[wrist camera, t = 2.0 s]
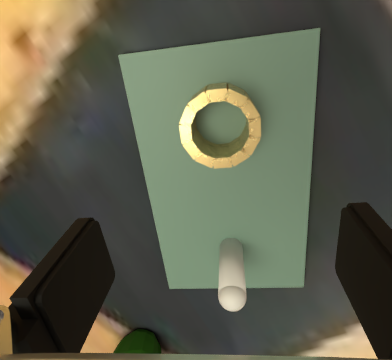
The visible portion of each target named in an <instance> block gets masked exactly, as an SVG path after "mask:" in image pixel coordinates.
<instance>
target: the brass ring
mask: <svg viewBox="0 0 392 360" xmlns="http://www.w3.org/2000/svg"><path fill="white" fill-rule="evenodd" d="M221 101H226V102H229V103H231V104H233V105H235V106H237V107H239V108H240V109H241V110H242V112H243V113H244V115H245V116H246V126H245V127H244V129H243V131H242V133H241V135H240V136H239V137H238V138H236V139H235V140H233V141H232V142H230V143H226V144H214V143H212V142H210V141H208V140H205V139H204V138H203V137H202V135H201V134H200V133H199V131H198V130H197V128H196V120H195V115H196V112H197V111H199V110H200V109H201V108H203V107H204V106H206V105H207V104H208V103H211V102H221ZM179 129H180V136H181V143H182V144H183V145H182V146H183V147H184V148H185V149H186V151H187V152H188V153H189V155H190V156H191V157H192V158H193V160H194V159H196V160H195V161H196V162H199V163H201V164H203V165H205V166H208V167H210V168H212V167H213V166H214V169H216V168H230V167H232V165H233V166H236V165H238V164H239V163H241V162H242V161H244V160H246V159H247V158H249V157H250V155H252V153H253V151H254V150H255V148H256V146H257V144H258V143H259V141H260V137H261V117H260V114H259V112H258V110H257V108H256V106H255V105H254V103H253V101H252V100H251V98H250V97H249V95H248V94H247V92H245V90H243V89H241V88H239V87H237V86H235V85H233V84H230V83H228V84H227V82H224V83H215V84H208V86H207V85H206V86H205V87H204V88H202V89H201V90H200V91H198V92H197V93H196V94H194V95H193V96H192V97H191V99H190V101H189V102H188V104H187V105H186V108H185V110H184V113H183V115H182V118H181V120H180V123H179Z"/></svg>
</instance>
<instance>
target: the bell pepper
mask: <svg viewBox="0 0 392 360" xmlns="http://www.w3.org/2000/svg"><path fill="white" fill-rule="evenodd" d="M113 353H131V354H161V347H160V344H159V343H158V341H157V339H156V337H155V335H154V333H152V332H150V331H148V330H143V329H137V330H135V331H133V332H132V333H131V334H128V335H127V336H125V337H124V338H123V339H122V340H121V341H120V343H119V344H118V346H117V347H116V349H115V351H114V352H113Z"/></svg>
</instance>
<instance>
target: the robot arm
mask: <svg viewBox="0 0 392 360" xmlns="http://www.w3.org/2000/svg"><path fill="white" fill-rule="evenodd" d="M335 269H336V273H337V276H338V278H339V280H340V282H341V284H342V286H343V288H344V290H345V292H346V294H347V296H348V298H349V300H350V303H351V305H352V307H353V309H354V311H355V313H356V315H357V317H358V319H359V321H360V323H361V325H362V327H363V329H364V331H365V333H366V335H367V337H368V339H369V341H370V344H371V346H372V348H373V350H374V352H375V354H376V356H377V358H378V359H365V358H339V357H301V356H255V355H201V354H131V353H80V351H81V349H82V347H83V344H84V342H85V340H86V338H87V336H88V334H89V332H90V330H91V328H92V325H93V323H94V321H95V319H96V317H97V315H98V313H99V311H100V309H101V306H102V304H103V302H104V300H105V298H106V296H107V294H108V292H109V289H110V287H111V285H112V283H113V281H114V278H115V271H114V267H113V264H112V261H111V258H110V255H109V252H108V249H107V246H106V243H105V240H104V237H103V234H102V231H101V228H100V225H99V222H98V221H95V220H94V219H93V218H79V219H77V220H76V221H75V222H74V223H73V224H72V225H71V227H70V228H69V229H68V230H67V231H66V232H65V234H64V235H63V236H62V237H61V238H60V239H59V241H58V242H57V243H56V244H55V245H54V247H53V248H52V249H51V250H50V251H49V252H48V254H47V255H46V256H45V257H44V258H43V259H42V261H41V262H40V263H39V264H38V265H37V266H36V268H35V269H34V270H33V271H32V272H31V274H30V275H29V276H28V277H27V278H26V279H25V281H24V282H23V283H22V284H21V285H20V286H19V288H18V289H17V290H16V291H15V292H14V293H13V295H12V296H11V297H10V300H11V302H12V304H11V305H10V306H9V307H6V306H4V305H0V360H392V229H391V228H390V227H389V226H388V225H387V224H386V223H385V222H384V220H383V219H382V218H381V217H380V216H379V215H378V214H377V213H376V212H375V210H374V209H373V208H372V207H371V206H370V205H369V204H368V203H366V202H363V203H349V204H348V205H347V207H346V208H342V211H341V220H340V228H339V237H338V245H337V254H336V263H335Z"/></svg>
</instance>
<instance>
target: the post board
mask: <svg viewBox="0 0 392 360" xmlns="http://www.w3.org/2000/svg"><path fill="white" fill-rule="evenodd" d="M319 41H320V28H315V29H308V30H300V31H293V32H286V33H278V34H271V35H263V36H256V37H249V38H241V39H234V40H226V41H219V42H211V43H204V44H197V45H189V46H182V47H174V48H167V49H160V50H152V51H145V52H137V53H130V54H123V55H118V56H119V61H120V66H121V70H122V75H123V79H124V84H125V88H126V93H127V97H128V102H129V107H130V111H131V116H132V120H133V125H134V129H135V134H136V138H137V143H138V147H139V152H140V157H141V161H142V166H143V170H144V175H145V179H146V184H147V188H148V193H149V198H150V202H151V207H152V211H153V216H154V220H155V225H156V229H157V234H158V239H159V243H160V248H161V252H162V257H163V261H164V266H165V270H166V275H167V280H168V284H169V289H194V288H218V298H219V302H220V304H221V305H222V306H223V308H225V309H226V310H228V311H238V310H240V309H241V308H242V307H243V306H244V305H245V302H246V288H281V287H304V274H305V259H306V243H307V228H308V212H309V197H310V181H311V165H312V150H313V134H314V119H315V103H316V87H317V72H318V56H319ZM224 82H227V84H228V83H230V84H233V85H235V86H237V87H239V88H241V89H243V90H245V92H247V94H248V95H249V97H250V98H251V100H252V101H253V103H254V105H255V106H256V108H257V110H258V112H259V114H260V117H261V137H260V141H259V143H258V144H257V146H256V148H255V150H254V151H253V153H252V155H250V157H249V158H247V159H246V160H244V161H242V162H241V163H239V164H238V165H236V166H233V165H232V167H230V168H216V169H214V166H213V167H212V168H210V167H208V166H205V165H203V164H201V163H199V162H196V161H195V160H196V159H194V160H193V158H192V157H191V156H190V155H189V153H188V152H187V151H186V149H185V148H184V147H183V146H182V145H183V144H182V143H181V136H180V129H179V123H180V120H181V118H182V115H183V113H184V110H185V108H186V105H187V104H188V102H189V101H190V99H191V97H192V96H193V95H194V94H196V93H197V92H198V91H200V90H201V89H202V88H204V87H205V86H206V85H207V86H208V84H215V83H224ZM195 120H196V128H197V130H198V131H199V133H200V134H201V135H202V137H203V138H204V139H205V140H208V141H210V142H212V143H214V144H226V143H230V142H232V141H233V140H235V139H236V138H238V137H239V136H240V135H241V133H242V131H243V129H244V127H245V126H246V116H245V115H244V113H243V112H242V110H241V109H240V108H239V107H237V106H235V105H233V104H231V103H229V102H226V101H221V102H211V103H208V104H207V105H206V106H204V107H203V108H201V109H200V110H199V111H197V112H196V115H195Z"/></svg>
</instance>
